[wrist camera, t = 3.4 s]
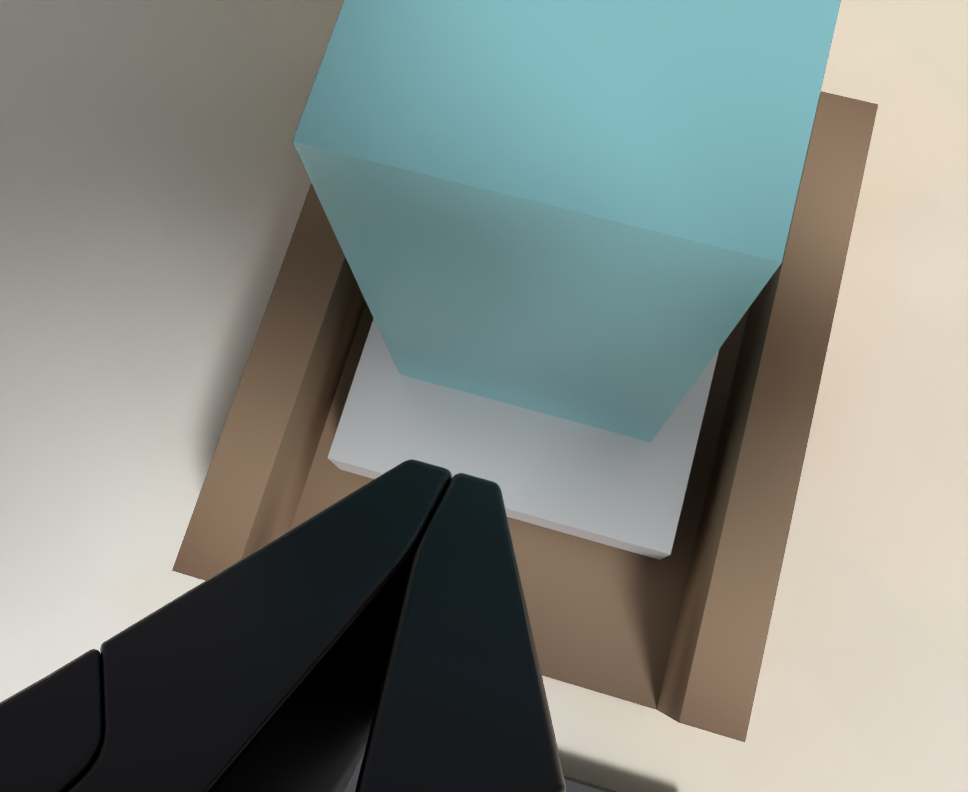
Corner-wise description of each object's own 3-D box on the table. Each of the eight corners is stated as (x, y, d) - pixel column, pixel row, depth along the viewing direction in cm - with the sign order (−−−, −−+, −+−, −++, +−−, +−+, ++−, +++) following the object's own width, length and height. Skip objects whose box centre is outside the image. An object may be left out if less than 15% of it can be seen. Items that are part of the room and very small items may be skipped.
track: (710, 724, 16) (745, 742, 14) (221, 578, 17) (172, 570, 15) (831, 172, 19) (878, 104, 16) (397, 69, 20) (380, -9, 17)
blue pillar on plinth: (659, 559, 16) (829, 479, 8) (340, 469, 17) (148, 295, 8) (754, 163, 18) (982, -279, 9) (462, 94, 19) (414, -385, 10)
